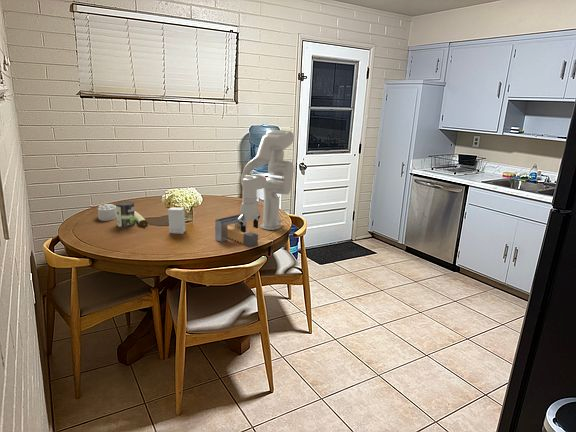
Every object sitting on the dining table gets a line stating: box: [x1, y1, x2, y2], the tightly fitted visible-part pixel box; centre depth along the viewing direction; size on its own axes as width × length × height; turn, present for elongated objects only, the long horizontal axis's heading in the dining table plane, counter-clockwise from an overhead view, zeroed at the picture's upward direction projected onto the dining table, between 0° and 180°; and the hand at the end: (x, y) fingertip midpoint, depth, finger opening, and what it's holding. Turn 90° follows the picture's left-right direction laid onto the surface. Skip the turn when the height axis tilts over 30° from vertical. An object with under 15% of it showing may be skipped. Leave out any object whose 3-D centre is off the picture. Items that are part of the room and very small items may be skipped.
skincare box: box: [167, 206, 186, 235], centre depth 229 cm, size 8×6×15 cm
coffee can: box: [115, 200, 136, 228], centre depth 237 cm, size 10×10×14 cm
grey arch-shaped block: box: [214, 213, 248, 243], centre depth 226 cm, size 19×5×12 cm, turn 139°
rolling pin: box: [134, 210, 149, 227], centre depth 246 cm, size 32×6×5 cm, turn 33°
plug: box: [227, 225, 259, 248], centre depth 223 cm, size 5×26×6 cm, turn 49°
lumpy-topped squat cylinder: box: [97, 203, 117, 222], centre depth 251 cm, size 10×13×9 cm
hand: (249, 229), depth 219 cm, fingers open, 9 cm apart
